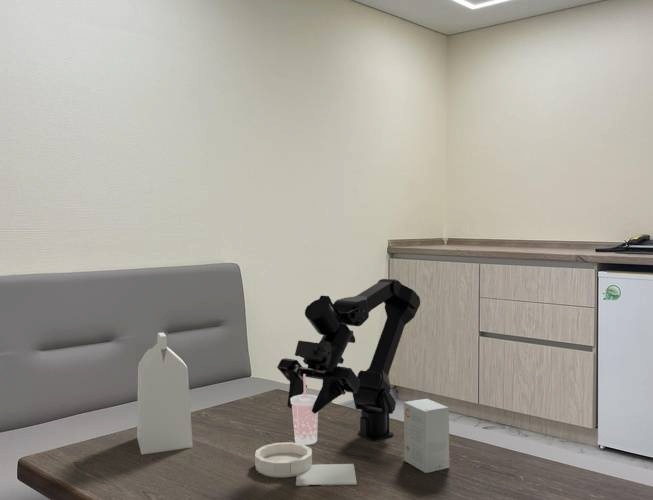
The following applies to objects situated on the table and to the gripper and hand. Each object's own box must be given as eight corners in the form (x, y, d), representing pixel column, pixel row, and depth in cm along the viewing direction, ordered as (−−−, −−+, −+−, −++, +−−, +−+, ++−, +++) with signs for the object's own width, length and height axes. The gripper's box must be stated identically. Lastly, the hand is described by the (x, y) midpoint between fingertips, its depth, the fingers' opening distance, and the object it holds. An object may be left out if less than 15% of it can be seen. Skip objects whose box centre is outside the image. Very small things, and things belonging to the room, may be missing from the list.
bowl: (294, 452, 138) (294, 438, 138) (322, 469, 128) (322, 455, 128) (246, 463, 132) (246, 449, 132) (271, 482, 122) (271, 467, 122)
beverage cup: (326, 439, 127) (325, 373, 127) (308, 448, 123) (306, 379, 122) (303, 434, 131) (302, 369, 131) (285, 442, 126) (283, 375, 126)
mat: (353, 465, 130) (353, 463, 130) (356, 484, 120) (356, 483, 120) (297, 466, 130) (297, 464, 130) (295, 485, 120) (295, 484, 120)
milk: (192, 447, 142) (190, 336, 141) (141, 454, 138) (139, 340, 137) (184, 431, 153) (182, 329, 153) (137, 437, 149) (134, 332, 148)
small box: (450, 468, 128) (449, 407, 128) (425, 474, 125) (424, 411, 125) (427, 455, 135) (427, 397, 135) (403, 460, 133) (403, 401, 132)
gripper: (281, 321, 135) (248, 382, 126) (351, 329, 124) (320, 395, 115) (304, 351, 141) (274, 410, 133) (373, 360, 130) (344, 425, 122)
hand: (300, 409), depth 126 cm, fingers closed on beverage cup, 6 cm apart
